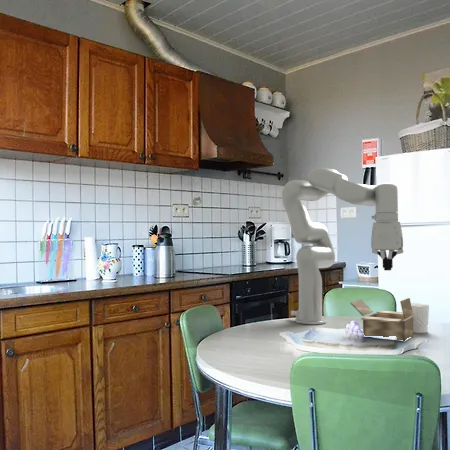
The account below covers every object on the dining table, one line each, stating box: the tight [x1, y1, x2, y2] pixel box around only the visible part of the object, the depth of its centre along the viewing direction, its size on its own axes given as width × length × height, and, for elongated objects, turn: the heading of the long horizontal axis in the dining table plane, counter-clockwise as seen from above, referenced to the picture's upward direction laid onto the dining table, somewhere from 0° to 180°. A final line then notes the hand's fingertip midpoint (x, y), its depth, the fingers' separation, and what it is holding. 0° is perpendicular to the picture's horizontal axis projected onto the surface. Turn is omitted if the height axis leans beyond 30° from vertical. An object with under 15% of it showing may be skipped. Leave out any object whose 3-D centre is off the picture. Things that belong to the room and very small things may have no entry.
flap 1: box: [350, 299, 374, 317], centre depth 172 cm, size 1×11×6 cm
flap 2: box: [399, 297, 413, 319], centre depth 163 cm, size 1×11×6 cm, turn 146°
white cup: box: [411, 302, 430, 334], centre depth 177 cm, size 8×8×10 cm
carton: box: [360, 310, 415, 341], centre depth 166 cm, size 14×22×8 cm, turn 145°
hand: (387, 270), depth 167 cm, fingers closed
